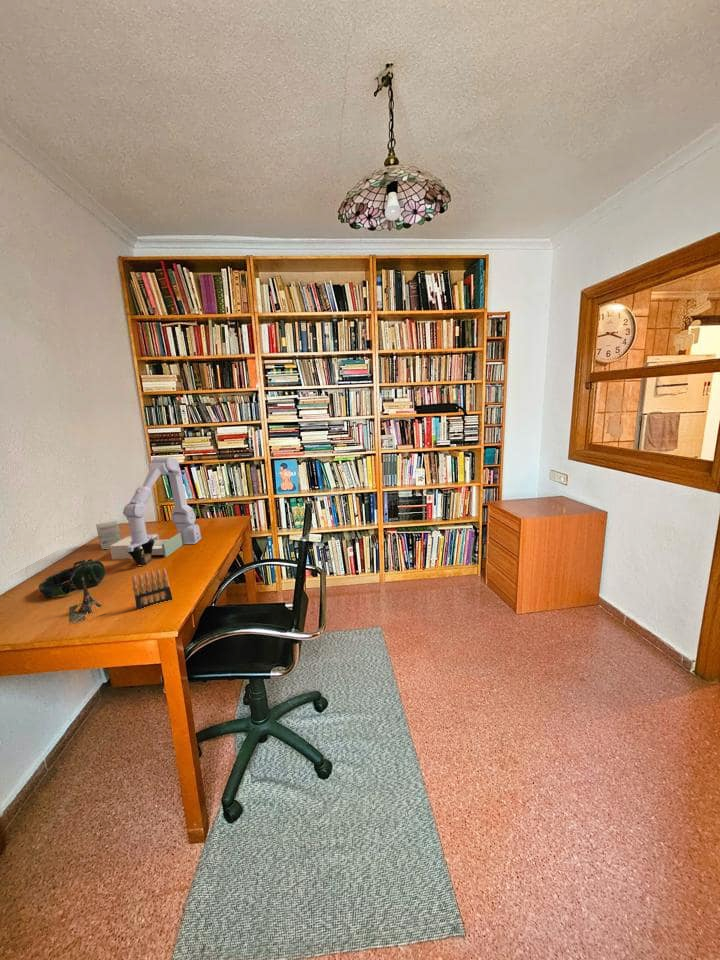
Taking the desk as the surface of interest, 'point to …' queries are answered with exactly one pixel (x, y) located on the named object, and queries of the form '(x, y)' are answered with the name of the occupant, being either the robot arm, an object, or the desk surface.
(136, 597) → the ammunition clip
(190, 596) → the desk surface
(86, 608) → the eiffel tower figurine
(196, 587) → the desk surface
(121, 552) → the organizer
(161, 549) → the drawer
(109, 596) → the desk surface
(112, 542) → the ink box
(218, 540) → the desk surface
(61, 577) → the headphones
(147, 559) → the walnut block
